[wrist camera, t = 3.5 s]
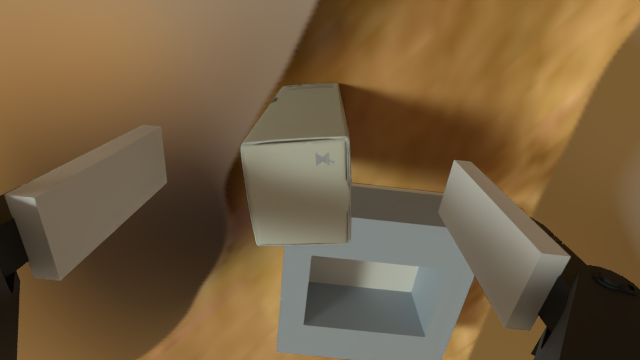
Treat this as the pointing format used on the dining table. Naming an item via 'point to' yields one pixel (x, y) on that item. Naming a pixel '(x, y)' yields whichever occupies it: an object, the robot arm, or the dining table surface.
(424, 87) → the dining table surface
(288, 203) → the box
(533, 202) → the dining table surface
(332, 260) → the socket
